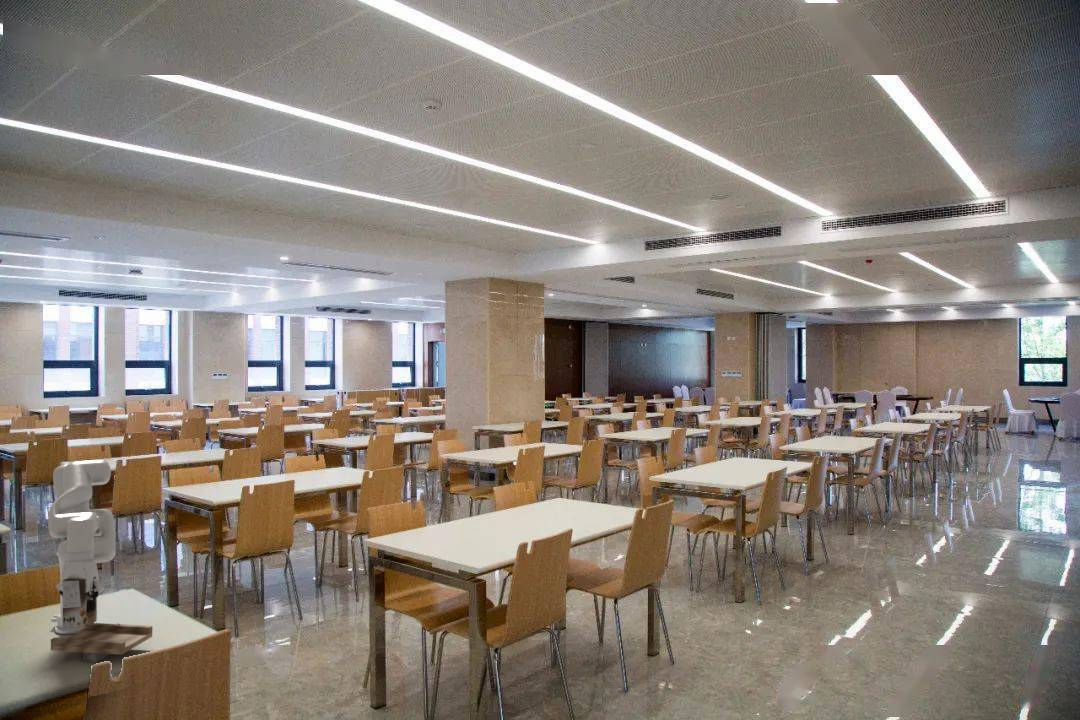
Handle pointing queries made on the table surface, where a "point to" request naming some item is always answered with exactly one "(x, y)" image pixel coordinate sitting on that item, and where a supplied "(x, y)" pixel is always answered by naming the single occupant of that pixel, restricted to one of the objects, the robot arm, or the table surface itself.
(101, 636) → the brown wooden tray
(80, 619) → the coffee box
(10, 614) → the table surface
